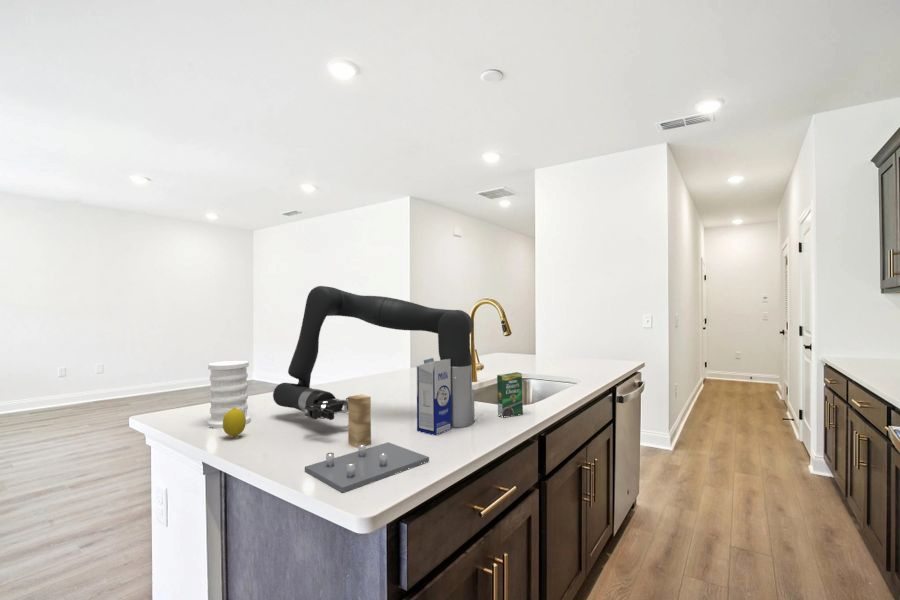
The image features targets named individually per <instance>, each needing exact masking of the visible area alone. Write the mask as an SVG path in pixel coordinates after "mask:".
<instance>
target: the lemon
mask: <svg viewBox="0 0 900 600" xmlns="http://www.w3.org/2000/svg"><path fill="white" fill-rule="evenodd" d="M246 425H247V424H246V418H245V414H244V413H243V412H242V411H241V410H240V409H237V408H232V409H231V410H229V411H228V412H227V413H226V414H225V416H224V419H223V431H224V433H225V434H227V435H228V436H231V437H232V438H234V439H235V438H236V437H238V435H240V434H241V433H243V432H244V430H245V428H246Z"/></svg>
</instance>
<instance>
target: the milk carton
mask: <svg viewBox="0 0 900 600" xmlns="http://www.w3.org/2000/svg"><path fill="white" fill-rule="evenodd" d="M416 429H417V430H416V432H419V431H420V433H423V432H424V434H428V433H429V435H432V434H433V436H437V434H438V435H440V434H442V432H443V433H445V432H444V431H446V432H448V431H450V430H449V429H451V430H452V427H451V370H450V359H445V360H440V359H439V360H434V357H431V358H428V359H423V364H419V365H416ZM447 430H448V431H447ZM439 433H440V434H439Z"/></svg>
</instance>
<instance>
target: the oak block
mask: <svg viewBox="0 0 900 600" xmlns="http://www.w3.org/2000/svg"><path fill="white" fill-rule="evenodd" d="M347 398H348V412H347V413H348V414H347V416H348V418H347V419H348V423H347V425H348V429H347V431H348V434H347V435H348V446H351V447H353V448H356V449H358V445H359V444H365V445H366V446H369V445H372V419H371V418H372V407H371V406H372V404H371V403H372V401H371V398H372V397H371V396H370V395H366V394H356V395H355V394H354V395H351V396H348V397H347Z"/></svg>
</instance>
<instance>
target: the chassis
mask: <svg viewBox="0 0 900 600" xmlns="http://www.w3.org/2000/svg"><path fill="white" fill-rule="evenodd" d="M366 447H367V445H365V444H359V445H358V448H357V449H358V450H357V451H354V452H353V451H352V452H350V453H348V454H347V453H346V454H343V455H340V456H336V457H335V452H327V453H326V455H325V458H326V459H325V460H323V461H319V462H315V463H312V464H309V465H306V466H304V472H305V473H307V474H308V475H310V476H312V477H314V478H315V479H317V480H319V481H321V482H322V483H324V484H326V485H328V486H329V487H331V488H333V489H335V490H336V491H338V492H340V493H342V494H343V493H347V492H349V491H352V490H354V489H357V488H361V487H363V486H366V485H369V484H371V483H374V482H377V481H379V480H382V479H385V478H387V477H390V475H391V476H393V475H396V474H398V473H397V472H399V473H401V472H400V471H402V472H404V471H403V470H405V471H406V469H407V470H409V469H408V468H410V469H412V468H411V467H413V466H416V465H418V466H420V465H419V464H421V463H424V462H427V461H429V462H430V456H427V455H425V454H422V453H419V452H416V451H414V450H411V449H409V448H405V447H402V446H400V445H398V444H394V443H391V442H384V443H381V444H378V445H374V446H371V447H368V448H366ZM427 463H428V462H427ZM424 464H425V463H424ZM421 465H422V464H421ZM416 467H417V466H416ZM413 468H414V467H413ZM395 473H396V474H395Z"/></svg>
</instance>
